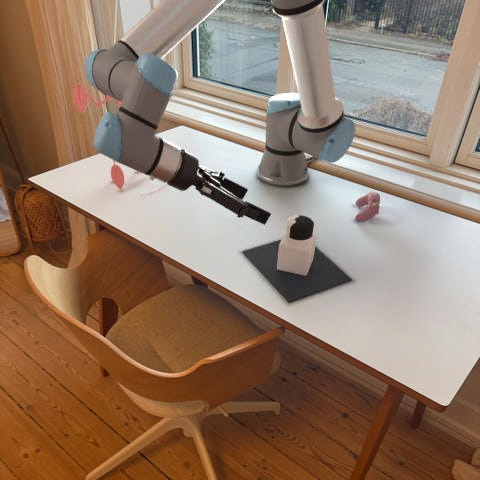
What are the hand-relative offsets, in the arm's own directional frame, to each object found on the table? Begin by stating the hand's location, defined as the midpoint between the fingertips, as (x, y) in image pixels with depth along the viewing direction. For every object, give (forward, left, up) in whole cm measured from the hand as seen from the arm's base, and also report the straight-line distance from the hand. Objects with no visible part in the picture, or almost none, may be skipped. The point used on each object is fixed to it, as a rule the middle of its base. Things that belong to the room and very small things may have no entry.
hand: (255, 206), depth 105 cm
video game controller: (-36, -2, -13) cm, 38 cm away
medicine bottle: (-6, +9, -12) cm, 17 cm away
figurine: (+13, -45, -13) cm, 49 cm away
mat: (-6, +9, -13) cm, 17 cm away
